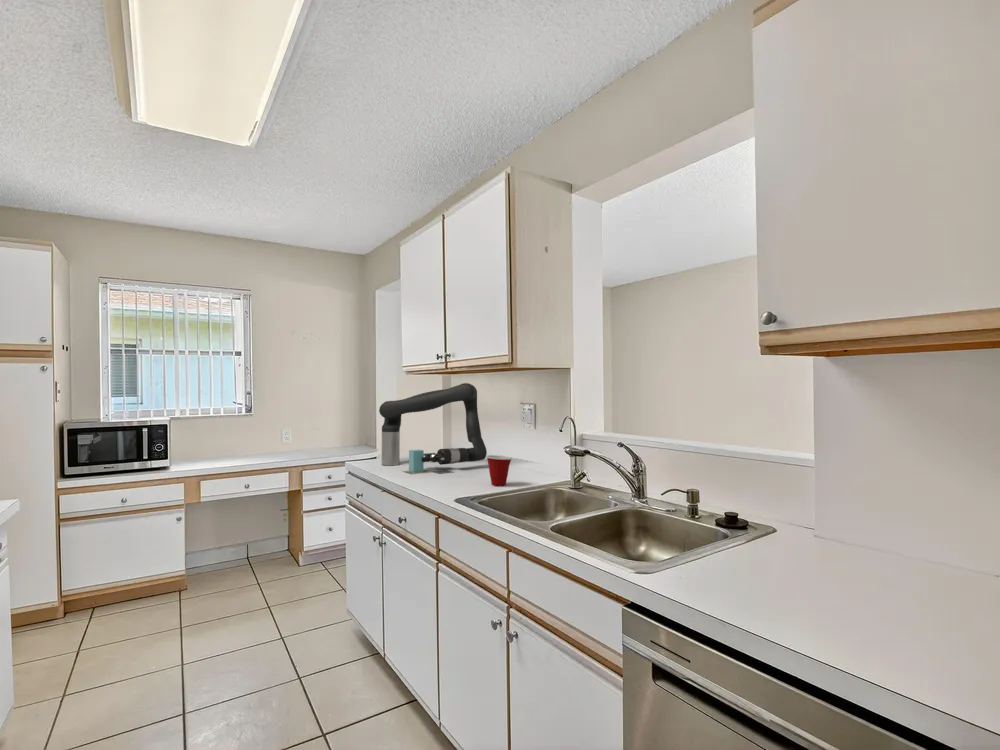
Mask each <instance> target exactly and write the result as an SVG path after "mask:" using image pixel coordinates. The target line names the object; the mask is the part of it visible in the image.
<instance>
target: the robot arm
mask: <svg viewBox="0 0 1000 750" xmlns="http://www.w3.org/2000/svg"><path fill="white" fill-rule="evenodd" d="M454 402H463V406H464V409H465V430H466V436H467V440H468V442H469V443H471V444H472V446H473V447H468V448H465V447H457V448H455V447H451V448H449V447H447V448H440V449H438V450H437V452H428V453H426V452H425V453H424V457H422V462H423V463H429V462H430V463H438V464H439V465H441V466H442V465H452V464H458V463H466V462H467V463H468V462H471V463H472V462H473V463H474V462H478V461H483V460H485V458H487V457H486V456H488V455H487V454H488V451H487V447H486V444H485V442H484V439H483V437H482V431H481V426H480V425H481V424H480V420H479V414H478V412H479V411H478V390H477V388H476V386H474V385H473V384H471V383H468V382H465V383H459V384H458V385H455V386H452V387H448V388H445V389H444V388H443V389H437V390H432V391H425V392H423V393H420V394H416V395H412V396H410V397H406V398H403V399H397V400H386V401H384V402H383V403H382V404H380V406H379V408H378V409H379V410H378V412H379V414H380V416H381V417H383V418H384V420H383V424H382V426H381V465H382V466H398V465H400V463H401V462H400V456H401V455H400V452H401V449H400V446H401V445H400V444H401V443H400V442H401V441H400V440H401V439H400V438H401V437H400V436H401V432H400V431H401V426H402V415H403V414H410V413H421V412H426V411H433V410H435V409H438V408H441V407H442V406H444V405H448V404H450V403H454Z"/></svg>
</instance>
